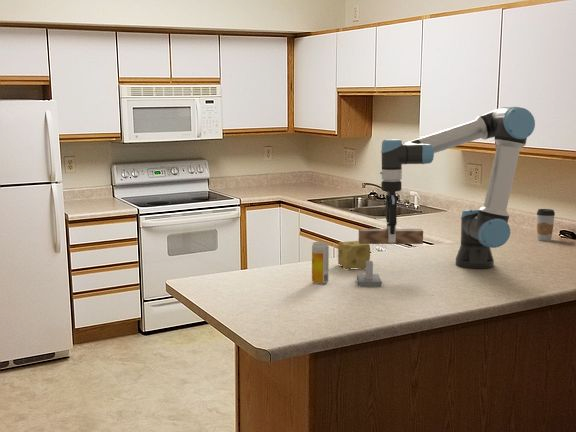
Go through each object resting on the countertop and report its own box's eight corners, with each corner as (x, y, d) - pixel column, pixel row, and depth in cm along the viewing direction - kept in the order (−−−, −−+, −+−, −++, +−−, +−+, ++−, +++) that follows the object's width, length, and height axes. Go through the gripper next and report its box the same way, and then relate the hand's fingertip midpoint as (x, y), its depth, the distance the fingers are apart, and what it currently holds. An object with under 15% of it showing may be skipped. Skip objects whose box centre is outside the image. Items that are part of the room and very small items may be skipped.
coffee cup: (534, 241, 333) (535, 210, 331) (536, 238, 341) (538, 208, 338) (552, 242, 329) (554, 211, 327) (554, 239, 337) (556, 209, 334)
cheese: (345, 270, 273) (346, 245, 272) (336, 264, 283) (337, 241, 282) (370, 268, 276) (370, 244, 274) (360, 263, 286) (360, 239, 285)
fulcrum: (378, 279, 259) (378, 258, 257) (381, 287, 247) (381, 265, 246) (357, 279, 259) (357, 258, 258) (359, 287, 247) (359, 265, 246)
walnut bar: (420, 241, 264) (421, 228, 264) (422, 244, 260) (423, 231, 259) (358, 241, 265) (358, 228, 265) (359, 243, 260) (359, 231, 260)
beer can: (318, 280, 258) (318, 240, 255) (331, 282, 254) (331, 242, 251) (308, 283, 253) (308, 243, 251) (321, 285, 249) (322, 245, 247)
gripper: (379, 178, 268) (378, 236, 271) (384, 183, 250) (383, 245, 254) (398, 177, 268) (397, 236, 271) (404, 182, 250) (404, 245, 253)
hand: (391, 240), depth 262 cm, fingers closed on walnut bar, 5 cm apart
